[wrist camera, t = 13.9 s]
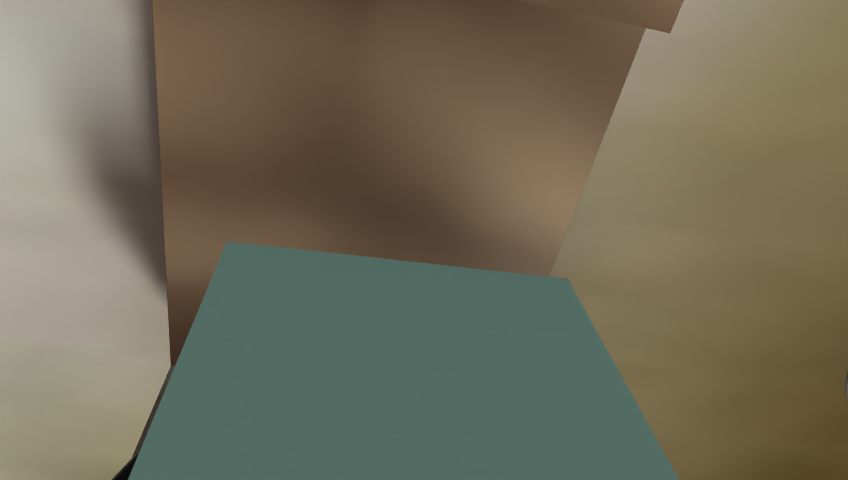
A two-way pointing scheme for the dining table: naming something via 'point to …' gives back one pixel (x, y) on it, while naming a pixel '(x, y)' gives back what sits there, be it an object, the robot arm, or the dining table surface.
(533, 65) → the cart
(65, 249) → the dining table surface
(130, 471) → the robot arm
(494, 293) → the block
